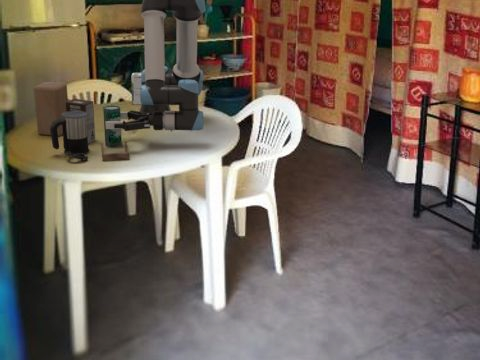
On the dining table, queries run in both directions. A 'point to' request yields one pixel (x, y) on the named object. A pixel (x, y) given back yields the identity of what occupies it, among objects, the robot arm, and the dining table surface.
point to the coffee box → (89, 109)
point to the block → (50, 105)
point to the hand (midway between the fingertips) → (108, 120)
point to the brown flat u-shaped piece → (115, 154)
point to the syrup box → (136, 88)
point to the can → (112, 135)
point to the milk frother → (72, 134)
